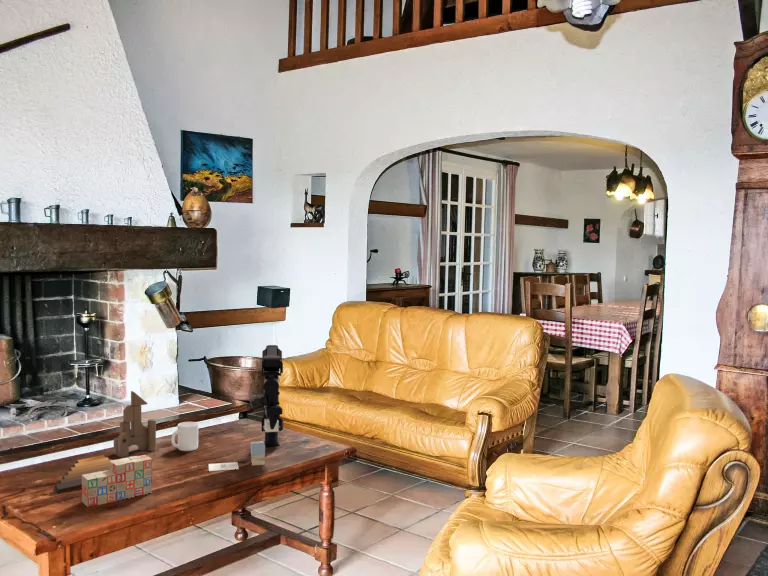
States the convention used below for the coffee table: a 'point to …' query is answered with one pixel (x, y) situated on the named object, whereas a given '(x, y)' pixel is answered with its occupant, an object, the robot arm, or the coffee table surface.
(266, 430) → the cream brick
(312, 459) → the coffee table surface
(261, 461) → the beech brick
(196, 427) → the mug
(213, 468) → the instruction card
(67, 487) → the pan flute
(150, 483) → the stack of blocks
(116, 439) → the wooden toy
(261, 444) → the blue brick
